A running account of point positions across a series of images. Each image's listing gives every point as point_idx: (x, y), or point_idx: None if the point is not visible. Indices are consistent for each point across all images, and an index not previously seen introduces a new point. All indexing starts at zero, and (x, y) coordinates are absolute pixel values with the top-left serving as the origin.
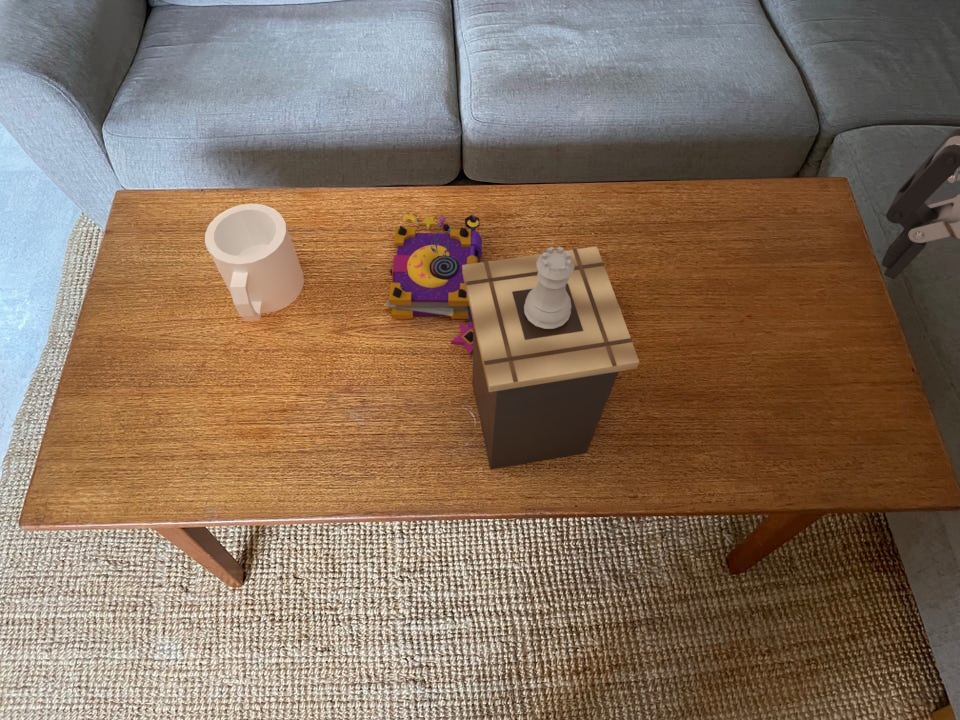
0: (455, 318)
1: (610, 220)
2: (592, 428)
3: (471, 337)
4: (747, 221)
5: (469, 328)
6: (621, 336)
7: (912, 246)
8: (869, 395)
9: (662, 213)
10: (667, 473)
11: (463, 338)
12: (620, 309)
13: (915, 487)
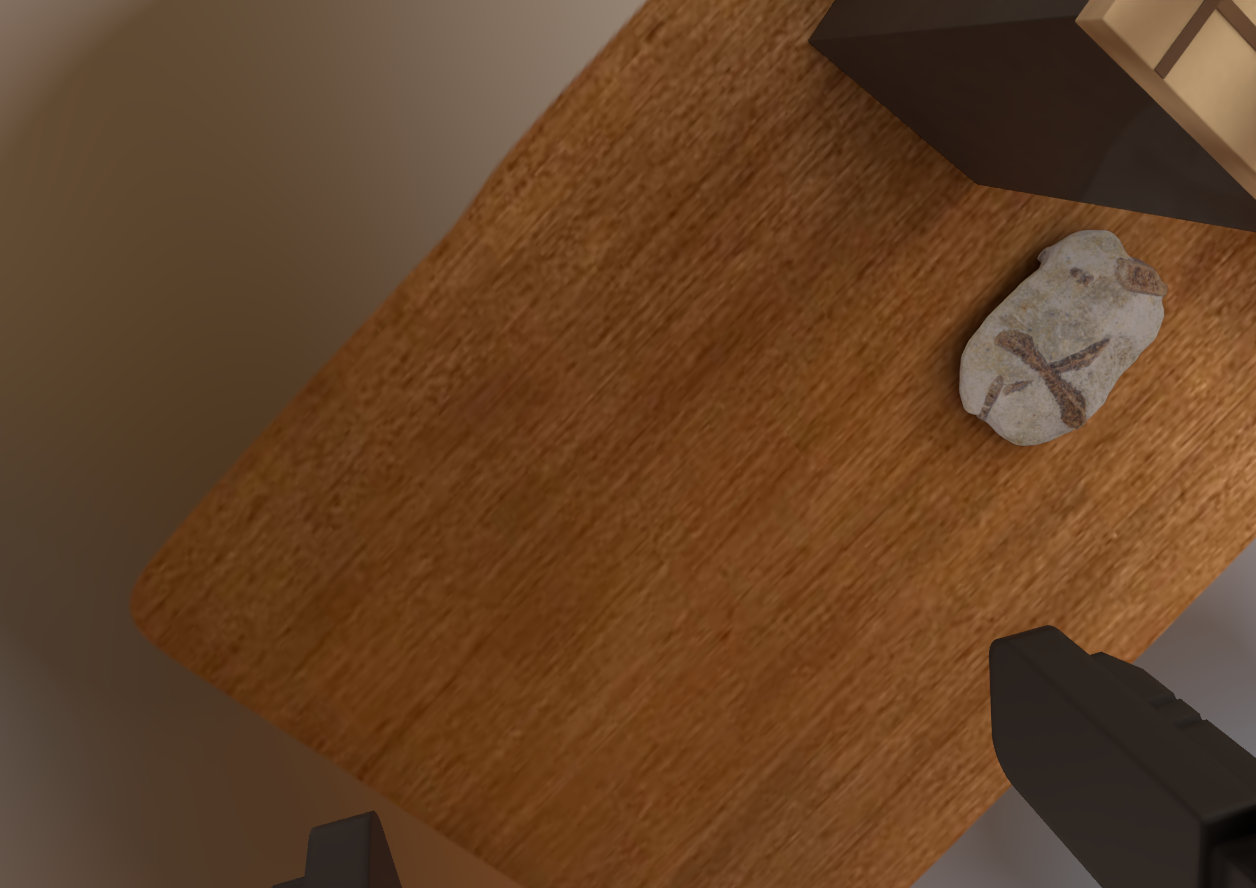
0: None
1: (1101, 594)
2: (884, 24)
3: None
4: (862, 823)
5: None
6: (1189, 61)
7: (1228, 781)
8: (406, 681)
9: None
10: (629, 151)
11: None
12: (971, 412)
13: (188, 572)
